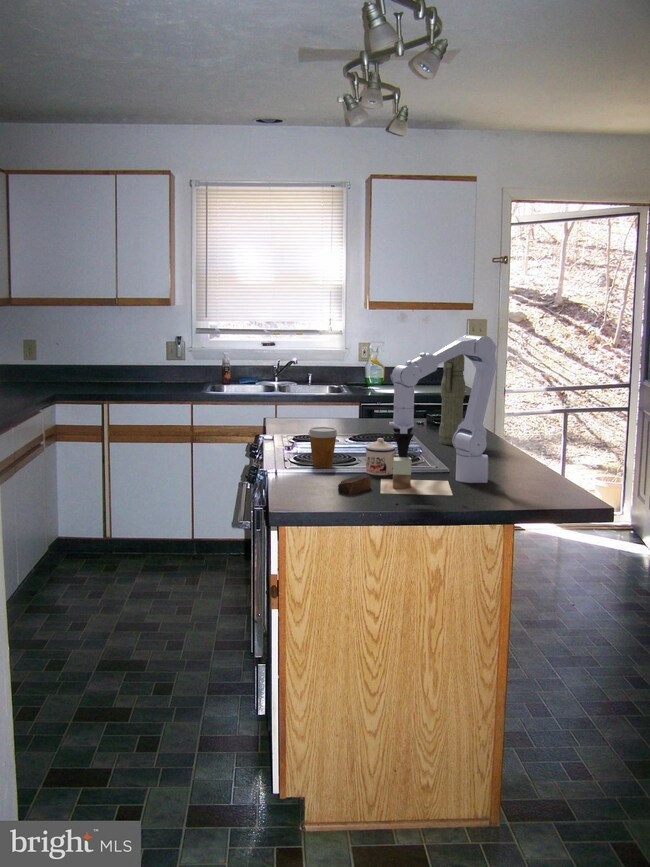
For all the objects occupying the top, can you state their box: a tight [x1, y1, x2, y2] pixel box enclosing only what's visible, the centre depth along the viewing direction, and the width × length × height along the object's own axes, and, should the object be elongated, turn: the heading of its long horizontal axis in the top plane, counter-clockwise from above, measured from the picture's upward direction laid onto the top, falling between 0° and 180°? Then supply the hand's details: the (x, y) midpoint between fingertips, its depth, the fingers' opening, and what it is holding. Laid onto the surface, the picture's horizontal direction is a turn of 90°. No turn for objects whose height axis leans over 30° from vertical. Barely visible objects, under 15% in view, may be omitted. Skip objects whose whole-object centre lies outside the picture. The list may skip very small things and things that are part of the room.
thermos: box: [438, 354, 466, 446], centre depth 323 cm, size 9×12×35 cm
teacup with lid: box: [365, 437, 399, 476], centre depth 268 cm, size 12×9×12 cm
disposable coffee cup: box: [308, 426, 339, 468], centre depth 282 cm, size 10×10×12 cm
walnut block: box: [392, 474, 412, 489], centre depth 250 cm, size 5×5×4 cm
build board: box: [380, 478, 453, 496], centre depth 250 cm, size 20×18×1 cm
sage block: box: [392, 456, 412, 476], centre depth 250 cm, size 5×5×4 cm
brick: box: [337, 474, 372, 496], centre depth 244 cm, size 11×4×5 cm, turn 142°
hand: (402, 454), depth 249 cm, fingers open, 7 cm apart
